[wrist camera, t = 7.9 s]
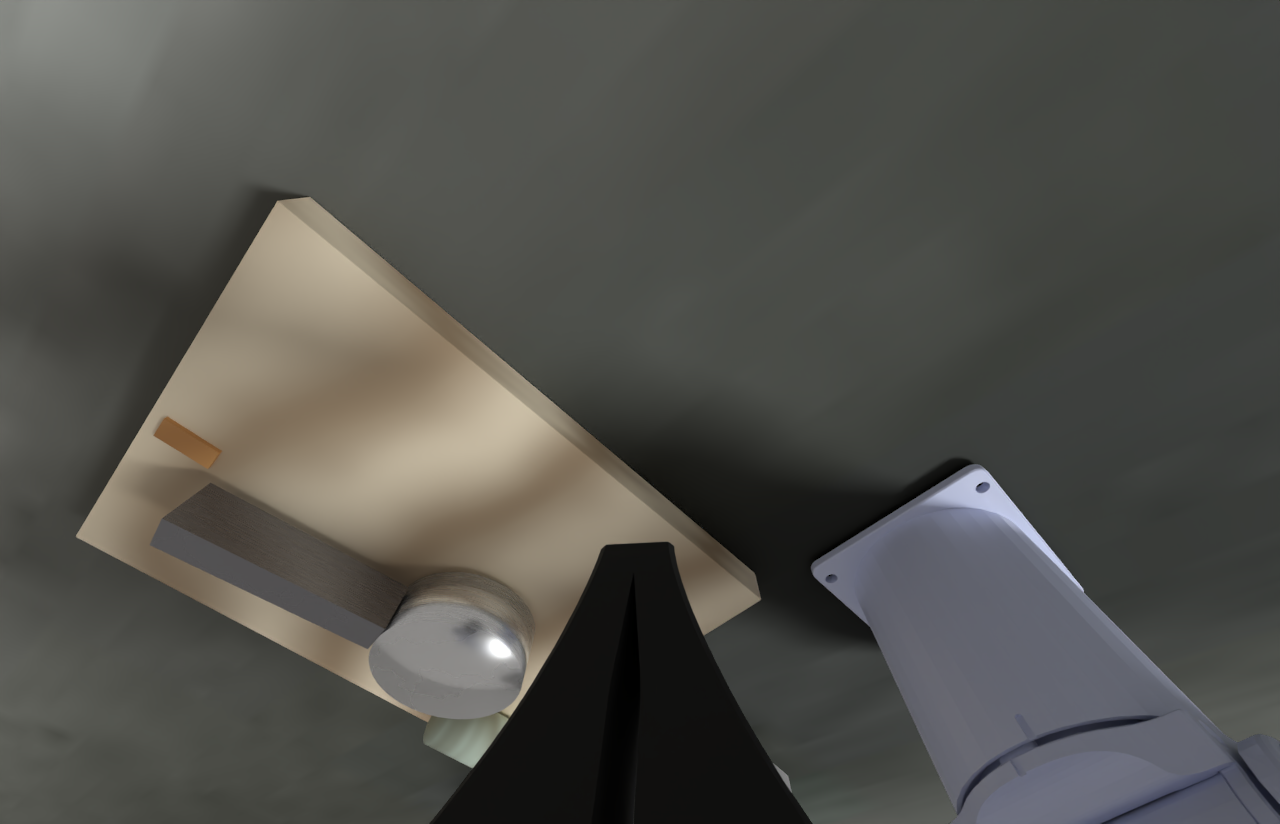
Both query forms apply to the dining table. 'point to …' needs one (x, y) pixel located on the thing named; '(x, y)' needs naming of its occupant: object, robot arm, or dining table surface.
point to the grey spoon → (367, 605)
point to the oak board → (386, 457)
